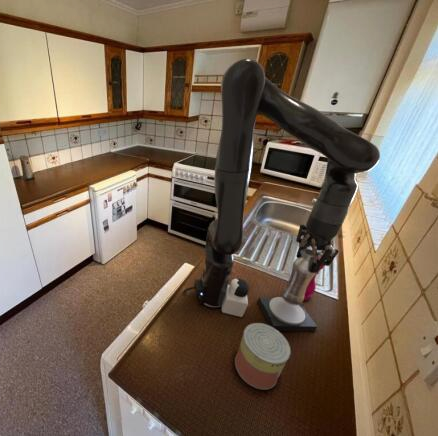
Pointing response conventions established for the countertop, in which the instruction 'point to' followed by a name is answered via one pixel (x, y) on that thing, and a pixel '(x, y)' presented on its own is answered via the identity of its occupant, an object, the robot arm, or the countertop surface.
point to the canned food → (261, 355)
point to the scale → (285, 315)
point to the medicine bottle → (236, 298)
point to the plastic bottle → (298, 279)
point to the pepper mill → (311, 285)
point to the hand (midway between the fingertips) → (306, 264)
